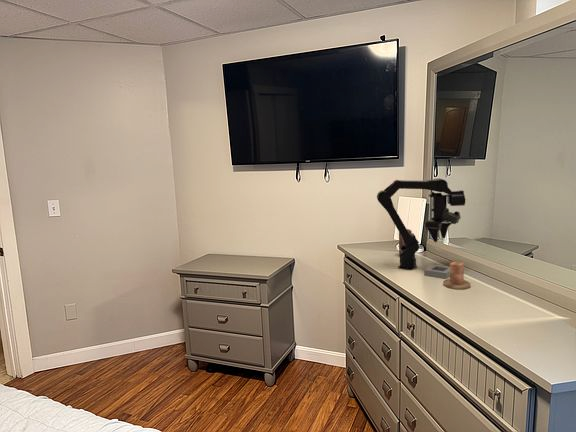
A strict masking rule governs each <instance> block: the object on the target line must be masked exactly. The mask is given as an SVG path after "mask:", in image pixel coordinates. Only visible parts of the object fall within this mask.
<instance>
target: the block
mask: <svg viewBox="0 0 576 432" xmlns="http://www.w3.org/2000/svg"><path fill="white" fill-rule="evenodd" d="M449 267H450V277H449V279H450V283H451V284H456V285H461V284H462V283H464V280H465V279H464V278H465V272H464V271H465V263H464V262H458V261H452V262H451V263H450V264H449Z"/></svg>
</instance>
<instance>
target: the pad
mask: <svg viewBox="0 0 576 432" xmlns="http://www.w3.org/2000/svg"><path fill="white" fill-rule="evenodd" d="M442 282H443V283H442V285H443V286H444V288H445V287H446V288H447V289H451V290H458V291H459V290H462V291H463V290H469V289H470V288H471V282H470V281H468V280H465V279H464V283H462V284H461V285H456V284H451V283H450V278H447V279H443V281H442Z"/></svg>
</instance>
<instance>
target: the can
mask: <svg viewBox="0 0 576 432" xmlns="http://www.w3.org/2000/svg"><path fill="white" fill-rule="evenodd" d="M406 229H407V231H408V232H409V233H410V234H412V233H413V231H412V230H411V229H409V228H406ZM403 245H404V242H403V239H402V236H401V234H400V232H399V231H398V249H399V250H398V256H399V257H400V254H402V253H401V251H400V248H401V247H402V246H403Z"/></svg>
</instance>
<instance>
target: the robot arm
mask: <svg viewBox="0 0 576 432" xmlns="http://www.w3.org/2000/svg"><path fill="white" fill-rule="evenodd" d="M448 186H449V183H448V182H447V180H446V179H442V178H440V177H439V178H433V179H427V180H407V179H406V180H401V179H395V180H393V181H392V183H390V184H389V185H388V186H387V187H386V188H384V190H380V191H378V192H377V194H376V199H377V201H378V204H380V205H381V206H382V207H383V208H384V210H385V211H386V212H387V213H388V215H389V217H390V218H391V220H392V222H393V224H394V225H395V227H396V229H397V231H398V233H399V232H400V234H401V236H402V239H403V242H404V245H403V246H402V247H401V248H400V251H401V253H402V254H400V256H399V265H398V267H397V268H398V269H402V270H403V269H404V270H409V271H411V270H413V269H415V268H417V266H418V265H417V258H416V253H418V251H419V249H420V245H419V244H420V241H419V240H418V239H417V237H416V235H415V234H414V232H412V234H410V233H409V232H408V231H407V229H408V228H407V227H406V225H405V224H404V222H403V220H402V219H401V217H400V215H399V213H398V211H397V210H396V208H395V206H394V203H393V200H392V197H394V196H395V194H396V193H397V191H398V190H400V189H401V190H403V189H404V190H407V189H408V190H428V191H431V192H430V193H429V194H428V197H429V198H432V208H431V210H430V211H431V212H432V217H430V218H431V219H428V220H426V221H425V222H424V228H426V229H427V231H428V232H429V234H430V236H431V238H432V240H433V242H434V243H437V242H438V238H439V231H440V234H441V237H442V239H446V236H447V233H448V230H449V227H450V226H452V225H456V224H458V223H459V221H460V220H461V218H462V217H461V214H460V212H459V211H457V210H456V211H455V212H451V211H450V209H449V208H448V206H447V205H448V204H449V206H451V207H459V206H460V207H462V206H463V207H464V206H466V196H465V191H464V190H454V191H453V190H451V189H450V187H448ZM442 193H444V194H442Z"/></svg>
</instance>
